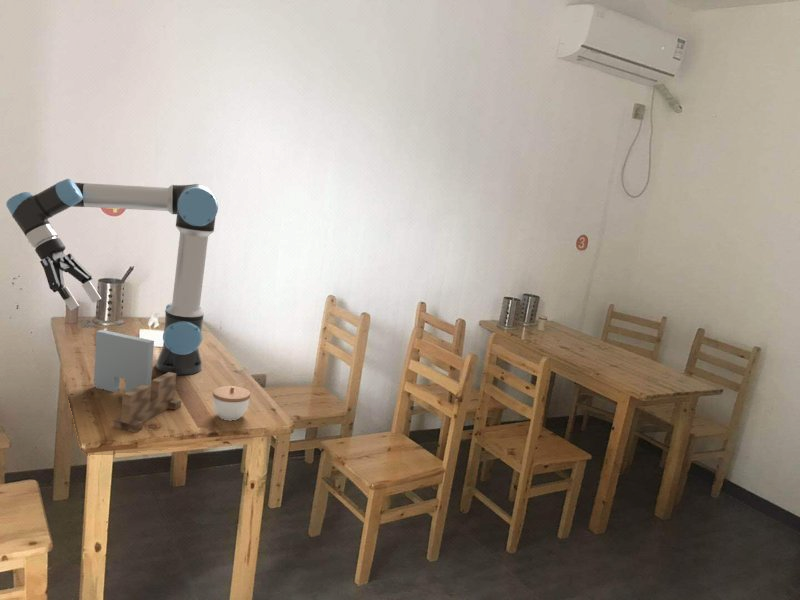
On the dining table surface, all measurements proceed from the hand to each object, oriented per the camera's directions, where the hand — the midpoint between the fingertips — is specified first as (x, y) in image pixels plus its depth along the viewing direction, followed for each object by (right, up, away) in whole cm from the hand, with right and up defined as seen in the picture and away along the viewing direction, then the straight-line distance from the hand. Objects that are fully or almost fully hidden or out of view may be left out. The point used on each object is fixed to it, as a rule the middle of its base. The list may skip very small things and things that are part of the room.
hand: (86, 304), depth 195 cm
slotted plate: (+8, -27, +5) cm, 29 cm away
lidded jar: (+43, -34, -1) cm, 55 cm away
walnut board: (+22, -32, -9) cm, 40 cm away
